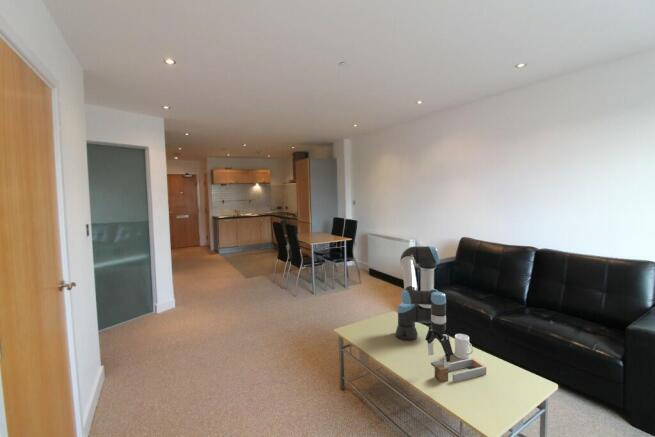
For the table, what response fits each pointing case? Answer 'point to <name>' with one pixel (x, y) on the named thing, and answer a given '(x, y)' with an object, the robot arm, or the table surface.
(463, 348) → the mug
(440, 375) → the block
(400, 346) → the table surface
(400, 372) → the table surface
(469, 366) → the channel
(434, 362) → the coaster
